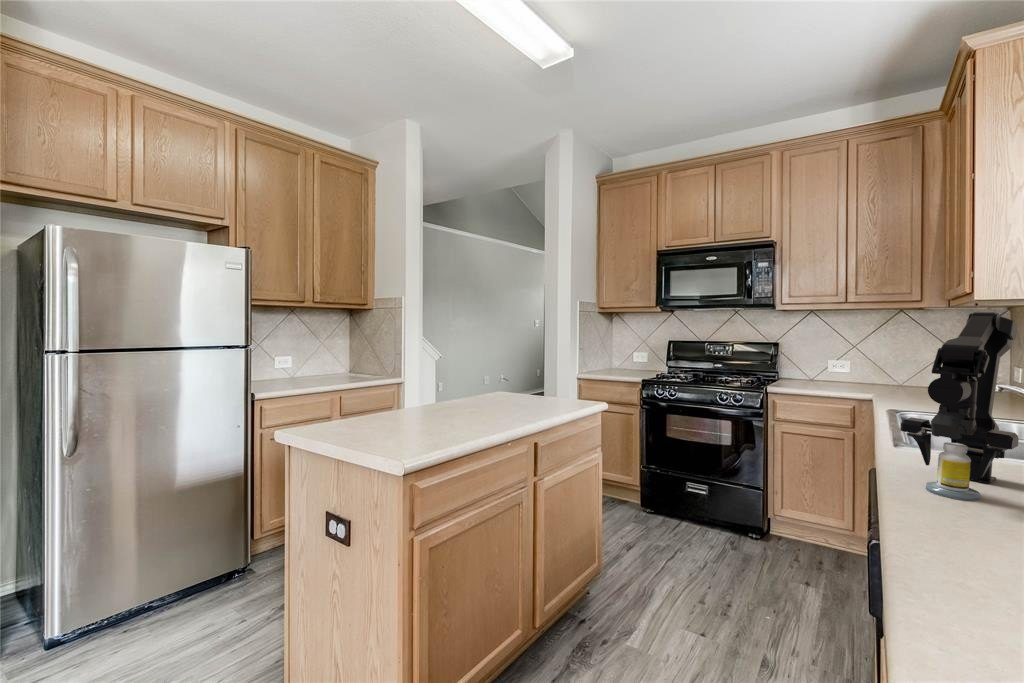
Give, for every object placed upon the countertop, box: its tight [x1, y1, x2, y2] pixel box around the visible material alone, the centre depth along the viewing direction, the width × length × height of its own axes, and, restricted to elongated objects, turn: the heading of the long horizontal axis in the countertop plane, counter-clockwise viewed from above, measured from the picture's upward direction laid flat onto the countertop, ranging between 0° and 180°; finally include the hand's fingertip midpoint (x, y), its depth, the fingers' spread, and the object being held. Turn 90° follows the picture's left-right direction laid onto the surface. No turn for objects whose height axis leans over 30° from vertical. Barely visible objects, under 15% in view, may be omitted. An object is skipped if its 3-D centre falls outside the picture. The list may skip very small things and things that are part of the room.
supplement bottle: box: [936, 442, 971, 492], centre depth 110 cm, size 5×5×10 cm
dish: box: [925, 481, 981, 502], centre depth 110 cm, size 9×9×1 cm
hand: (953, 470), depth 110 cm, fingers open, 9 cm apart
